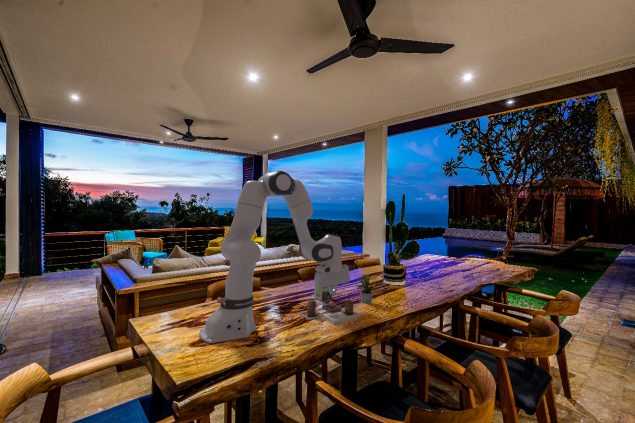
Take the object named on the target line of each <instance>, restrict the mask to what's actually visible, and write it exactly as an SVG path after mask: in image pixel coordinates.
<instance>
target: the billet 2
mask: <svg viewBox="0 0 635 423" xmlns="http://www.w3.org/2000/svg"><path fill="white" fill-rule="evenodd" d="M344 311H345V315H347V316H351V315H353V311H354V301H353V300H349V299H348V300H344Z"/></svg>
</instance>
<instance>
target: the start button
mask: <svg viewBox="0 0 635 423" xmlns="http://www.w3.org/2000/svg"><path fill="white" fill-rule="evenodd" d="M328 304H329V307H330V308H333V307H334V304H335V302H334V301H333V300H331V301H328Z"/></svg>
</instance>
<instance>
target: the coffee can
mask: <svg viewBox="0 0 635 423" xmlns="http://www.w3.org/2000/svg"><path fill="white" fill-rule="evenodd" d="M313 295H314V297H313V300H315V301H318V302H319V301H320V302H331V301H333V294H330V293H329V289H328V287H322V288H318V287H316V286H315V285H314V294H313Z"/></svg>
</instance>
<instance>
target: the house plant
mask: <svg viewBox="0 0 635 423" xmlns="http://www.w3.org/2000/svg"><path fill="white" fill-rule="evenodd" d="M361 275H362V278H363V280H362V279H361V278H357V277H358V276H355V278H357V280H358V281H359V282H360V283H361V285H360V284H358V283H355V284H356V287H359V288H360V299H361V300H360V301H361V303H363V304H365V305H367V306H368V305H371V304H372V302H373V297H374V296H373V295H374V289H377V288H376V287H375V285H374V282H375V281H377V280H379V278H378V279H376V278H373V280H372V282H371V283H370V280H371V279H370V274H365V275H364V273H361Z"/></svg>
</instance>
